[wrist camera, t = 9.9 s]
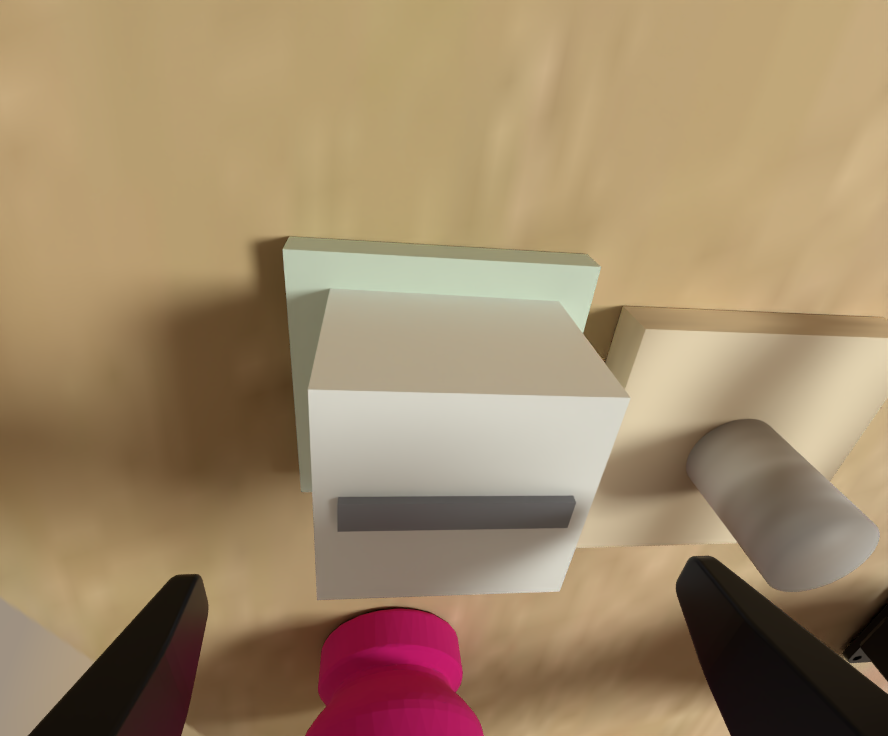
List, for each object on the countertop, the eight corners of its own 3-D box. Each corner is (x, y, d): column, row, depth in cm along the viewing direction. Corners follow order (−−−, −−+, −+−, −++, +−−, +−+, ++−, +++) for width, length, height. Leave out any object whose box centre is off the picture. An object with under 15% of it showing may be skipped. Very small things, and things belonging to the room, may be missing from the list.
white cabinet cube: (558, 300, 13) (635, 403, 9) (517, 468, 16) (561, 598, 12) (330, 288, 12) (306, 396, 8) (332, 467, 15) (316, 607, 11)
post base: (883, 317, 16) (1090, 422, 11) (764, 512, 21) (875, 643, 16) (622, 305, 15) (735, 419, 10) (558, 516, 19) (614, 660, 15)
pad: (587, 254, 14) (600, 266, 13) (533, 469, 18) (540, 489, 17) (288, 236, 13) (282, 249, 12) (305, 470, 17) (300, 492, 16)
